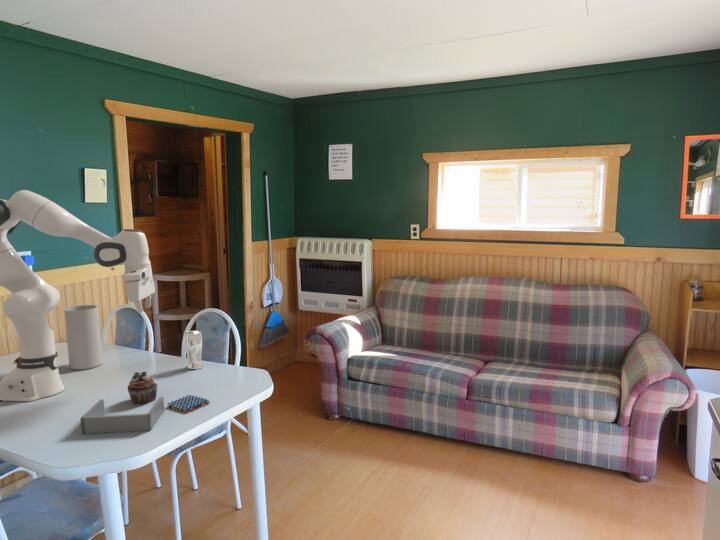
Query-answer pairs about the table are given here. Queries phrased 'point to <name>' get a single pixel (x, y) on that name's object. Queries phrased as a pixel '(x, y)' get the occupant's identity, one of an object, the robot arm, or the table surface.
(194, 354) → the beer glass
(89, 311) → the cylinder vase
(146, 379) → the cupcake
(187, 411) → the woven mat
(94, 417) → the box
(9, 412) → the table surface
